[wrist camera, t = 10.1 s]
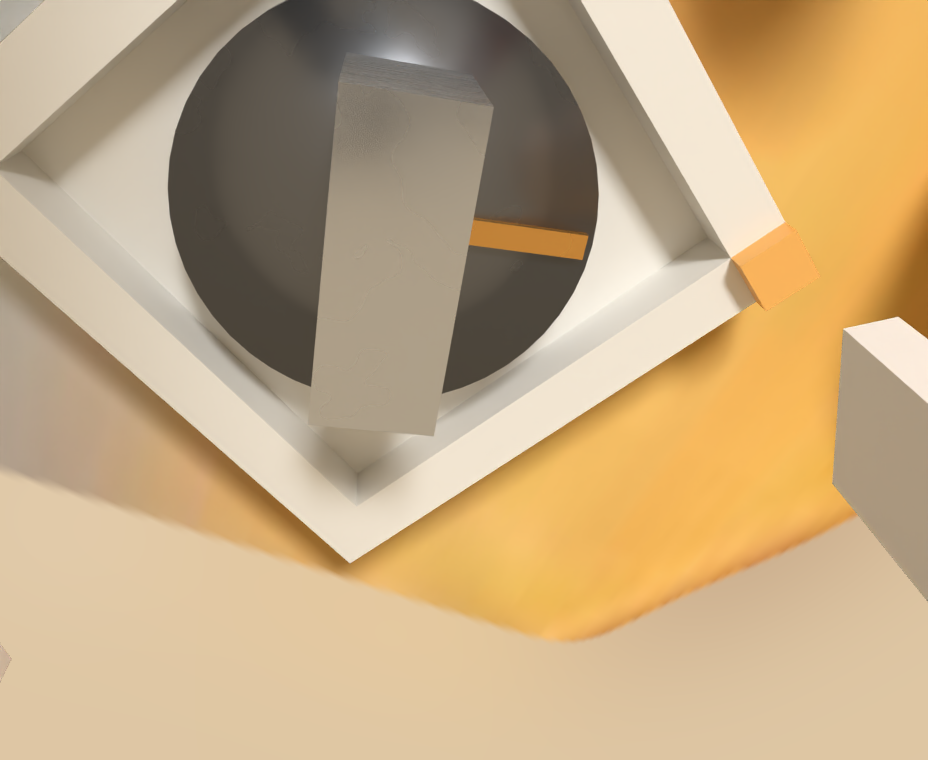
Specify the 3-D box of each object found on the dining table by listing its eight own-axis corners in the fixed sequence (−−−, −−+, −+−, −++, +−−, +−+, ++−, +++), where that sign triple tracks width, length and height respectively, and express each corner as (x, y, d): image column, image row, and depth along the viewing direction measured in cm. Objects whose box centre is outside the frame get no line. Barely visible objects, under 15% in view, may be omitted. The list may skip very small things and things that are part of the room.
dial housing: (-55, 127, 25) (-133, 161, 21) (446, -348, 21) (462, -412, 17) (352, 505, 34) (349, 577, 30) (763, 232, 29) (820, 276, 26)
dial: (181, 355, 28) (127, 469, 22) (180, -64, 21) (106, -64, 15) (538, 392, 30) (578, 504, 24) (631, 20, 24) (716, 49, 18)
